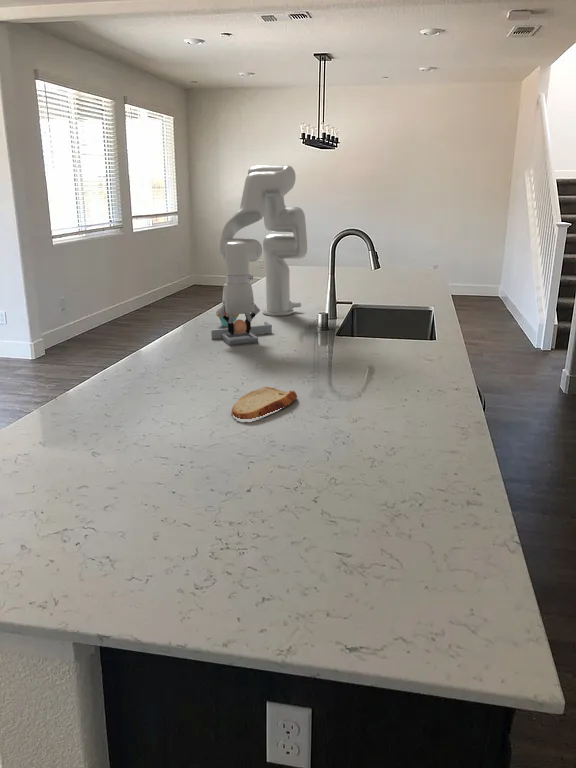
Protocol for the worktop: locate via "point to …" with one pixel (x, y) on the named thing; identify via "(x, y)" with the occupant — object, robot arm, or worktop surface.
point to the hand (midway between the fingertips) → (239, 332)
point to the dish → (239, 338)
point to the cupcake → (223, 321)
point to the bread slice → (262, 402)
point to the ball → (239, 326)
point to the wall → (254, 330)
